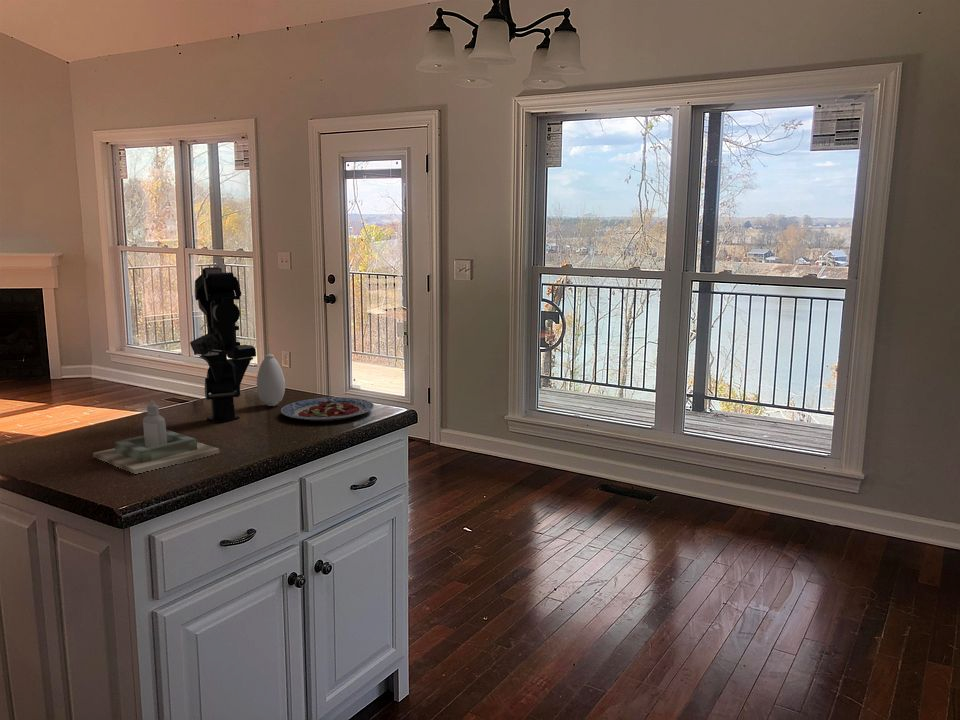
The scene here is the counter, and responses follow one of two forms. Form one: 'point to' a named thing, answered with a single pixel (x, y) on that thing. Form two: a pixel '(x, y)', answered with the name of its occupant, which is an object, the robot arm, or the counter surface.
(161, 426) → the eye dropper bottle
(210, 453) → the bottle socket
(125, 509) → the counter surface
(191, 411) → the counter surface
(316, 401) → the ceramic plate
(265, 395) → the white vase
